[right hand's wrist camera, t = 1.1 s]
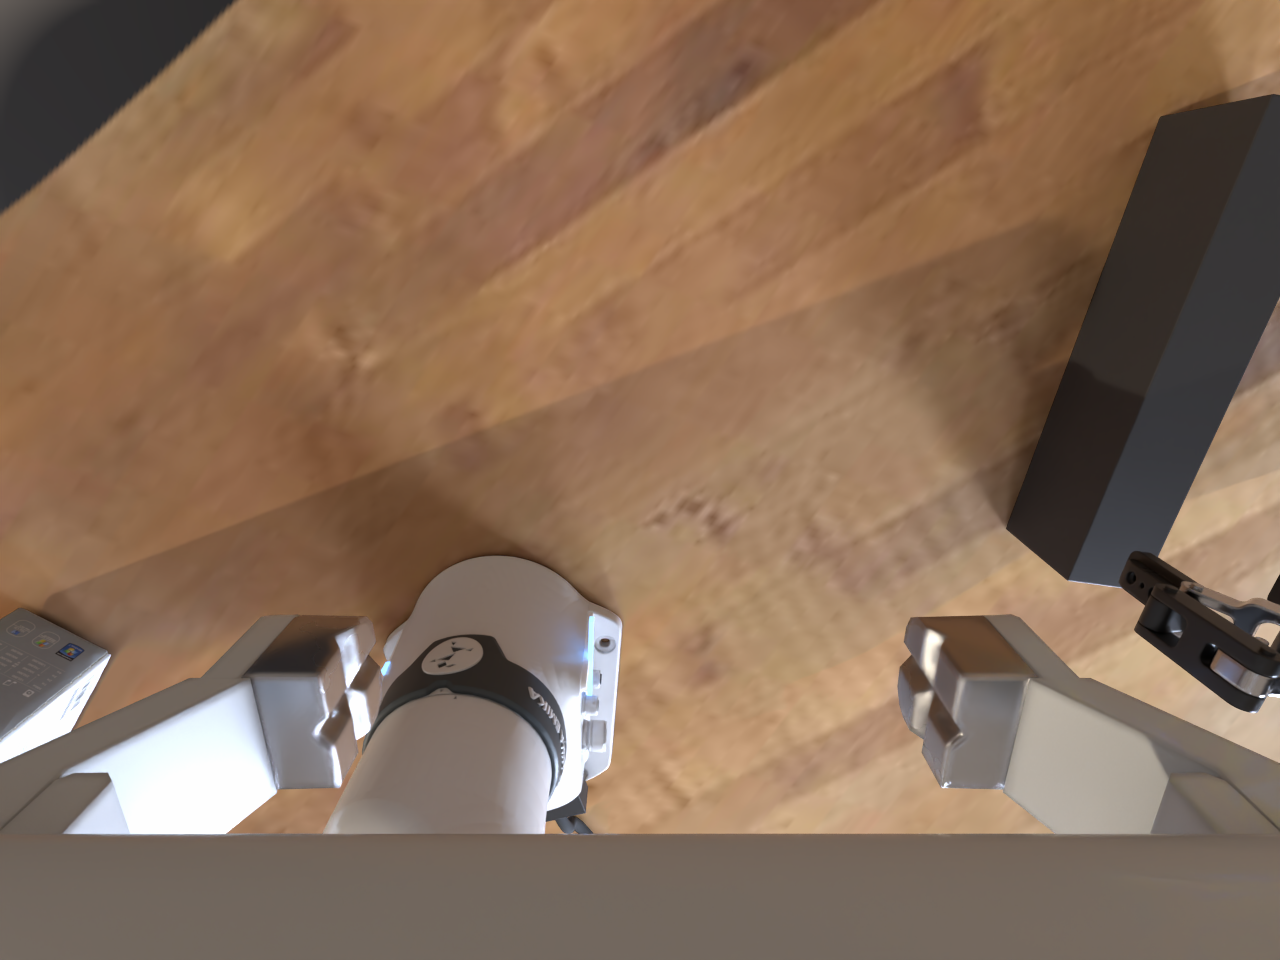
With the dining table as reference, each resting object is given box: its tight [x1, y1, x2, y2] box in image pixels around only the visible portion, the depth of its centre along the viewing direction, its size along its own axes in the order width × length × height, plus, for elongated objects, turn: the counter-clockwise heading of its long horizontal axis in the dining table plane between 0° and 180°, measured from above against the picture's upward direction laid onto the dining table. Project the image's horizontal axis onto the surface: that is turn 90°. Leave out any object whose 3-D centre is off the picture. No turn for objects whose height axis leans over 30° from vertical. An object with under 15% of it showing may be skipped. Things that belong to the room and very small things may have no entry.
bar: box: [1006, 94, 1280, 588], centre depth 42 cm, size 28×5×8 cm, turn 172°
